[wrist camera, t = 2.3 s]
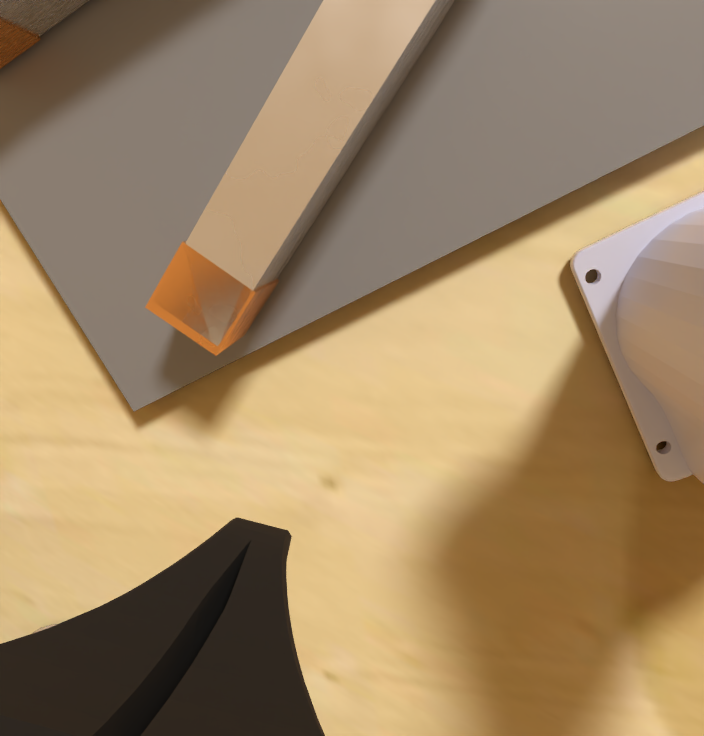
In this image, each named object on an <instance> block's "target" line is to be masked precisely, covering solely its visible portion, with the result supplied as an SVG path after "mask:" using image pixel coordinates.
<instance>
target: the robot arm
mask: <svg viewBox="0 0 704 736" xmlns="http://www.w3.org/2000/svg"><path fill="white" fill-rule="evenodd" d="M570 268H571V271H572V273H573V276H574V278H575V281H576V283H577V285H578V288H579V290H580V292H581V295H582V297H583V300H584V302H585V304H586V307H587V309H588V311H589V314H590V316H591V319H592V321H593V323H594V326H595V328H596V330H597V333H598V335H599V338H600V340H601V342H602V345H603V347H604V349H605V352H606V354H607V357H608V359H609V361H610V364H611V366H612V368H613V371H614V373H615V376H616V378H617V380H618V383H619V385H620V387H621V390H622V392H623V395H624V397H625V399H626V402H627V404H628V406H629V409H630V411H631V414H632V416H633V418H634V421H635V423H636V426H637V428H638V430H639V433H640V435H641V437H642V440H643V442H644V445H645V447H646V449H647V452H648V454H649V456H650V459H651V461H652V464H653V466H654V468H655V471H656V472H657V474H658V475H659V476H660V477H661V478H662V479H664V480H665V481H670V482H672V481H677V480H680V479H683V478H686V477H688V476H691V475H694V476H696V477H697V478H698V479H699V480H700V481H701V482H702V483H703V484H704V191H702V192H700V193H698V194H695V195H693V196H691V197H689V198H687V199H685V200H683V201H681V202H679V203H677V204H674V205H672V206H670V207H668V208H666V209H664V210H662V211H660V212H658V213H656V214H653V215H651V216H649V217H647V218H645V219H643V220H641V221H639V222H637V223H635V224H632V225H630V226H628V227H626V228H624V229H622V230H620V231H618V232H616V233H614V234H611V235H609V236H607V237H605V238H603V239H601V240H599V241H597V242H595V243H593V244H591V245H588V246H586V247H584V248H582V249H580V250H578V251H577V252H576V253H574V255H573V256H572V258H571V261H570ZM592 269H595V270H596V271H597V275H598V276H597V279H596V280H595V281H594V282H593V283H587V282H586V280H585V276H586V273H587V272H588V271H589V270H592ZM661 441H666V442H667V444H666V446H665V447H664V448H663V449H660V450H657V449H656V446H657V444H658V443H660V442H661ZM290 541H291V535H290V533H289V531H288V530H284V529H280V528H276V527H272V526H268V525H264V524H260V523H256V522H252V521H249V520H245V519H241V518H235V519H233V520H231V521H230V522H229V523H228V524H226V525H225V526H224V527H223V528H221V529H220V530H219V531H218V532H216V533H215V534H214V535H213V536H211V537H210V538H209V539H208V540H206V541H205V542H204V543H202V544H201V545H200V546H198V547H197V548H196V549H194V550H193V551H191V552H190V553H189V554H187V555H186V556H184V557H183V558H182V559H180V560H179V561H177V562H176V563H174V564H173V565H171V566H170V567H168V568H167V569H165V570H164V571H162V572H160V573H159V574H157V575H156V576H154V577H153V578H151V579H149V580H148V581H146V582H145V583H143V584H141V585H139V586H138V587H136V588H134V589H132V590H131V591H129V592H127V593H125V594H123V595H122V596H120V597H118V598H116V599H114V600H112V601H110V602H108V603H106V604H104V605H102V606H100V607H98V608H95V609H93V610H91V611H88V612H86V613H84V614H81V615H79V616H77V617H74V618H72V619H69V620H67V621H65V622H62V623H60V624H58V625H55V626H52V627H50V628H47V629H44V630H41V631H39V632H36V633H33V634H30V635H27V636H24V637H21V638H18V639H15V640H12V641H9V642H6V643H2V644H0V736H325V735H324V732H323V730H322V728H321V725H320V723H319V721H318V718H317V716H316V713H315V710H314V707H313V704H312V702H311V699H310V696H309V693H308V690H307V687H306V685H305V682H304V679H303V675H302V671H301V668H300V664H299V661H298V657H297V652H296V648H295V644H294V639H293V634H292V628H291V622H290V615H289V608H288V598H287V582H286V561H287V555H288V550H289V546H290Z"/></svg>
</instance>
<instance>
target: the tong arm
mask: <svg viewBox="0 0 704 736" xmlns="http://www.w3.org/2000/svg"><path fill="white" fill-rule="evenodd" d="M454 2H455V0H323V2H322V4H321V5H320V7H319V9H318V11H317V12H316V14H315V16H314V18H313V19H312V21H311V23H310V25H309V26H308V28H307V30H306V32H305V33H304V35H303V37H302V39H301V40H300V42H299V44H298V46H297V48H296V49H295V51H294V53H293V55H292V56H291V58H290V60H289V62H288V63H287V65H286V67H285V69H284V70H283V72H282V74H281V76H280V77H279V79H278V81H277V83H276V84H275V86H274V88H273V90H272V92H271V93H270V95H269V97H268V99H267V100H266V102H265V104H264V106H263V107H262V109H261V111H260V113H259V114H258V116H257V118H256V120H255V121H254V123H253V125H252V127H251V128H250V130H249V132H248V134H247V136H246V137H245V139H244V141H243V143H242V144H241V146H240V148H239V150H238V151H237V153H236V155H235V157H234V158H233V160H232V162H231V164H230V165H229V167H228V169H227V171H226V172H225V174H224V176H223V178H222V180H221V181H220V183H219V185H218V187H217V188H216V190H215V192H214V194H213V195H212V197H211V199H210V201H209V202H208V204H207V206H206V208H205V209H204V211H203V213H202V215H201V216H200V218H199V220H198V222H197V224H196V225H195V227H194V229H193V231H192V232H191V234H190V236H189V238H188V239H187V241H183V242H182V243H181V245H180V246H179V248H178V250H177V252H176V254H175V255H174V257H173V259H172V261H171V262H170V264H169V266H168V268H167V269H166V271H165V273H164V275H163V276H162V278H161V280H160V282H159V284H158V285H157V287H156V289H155V291H154V292H153V294H152V296H151V298H150V299H149V301H148V303H147V305H146V307H145V308H147V309H148V310H150V311H151V312H153V313H154V314H155V315H157V316H158V317H160V318H161V319H163V320H164V321H166V322H167V323H169V324H170V325H172V326H173V327H174V328H176V329H177V330H179V331H180V332H182V333H183V334H185V335H186V336H188V337H189V338H191V339H192V340H193V341H195V342H196V343H198V344H199V345H201V346H202V347H204V348H205V349H207V350H208V351H210V352H211V353H212V354H214V355H215V356H216V355H218V354H219V353H221V352H222V351H223V350H225V349H226V348H227V347H229V346H230V345H232V344H233V343H234V342H236V341H237V340H239V339H240V338H241V337H243V336H244V335H245V334H246V332H247V331H248V329H249V328H250V326H251V324H252V323H253V321H254V320H255V318H256V317H257V315H258V314H259V312H260V310H261V309H262V307H263V306H264V304H265V303H266V301H267V299H268V298H269V296H270V295H271V293H272V292H273V290H274V289H275V287H276V285H277V284H278V282H279V280H278V277H279V275H280V274H281V272H282V271H283V269H284V268H285V266H286V264H287V263H288V261H289V260H290V258H291V257H292V255H293V254H294V252H295V250H296V249H297V247H298V246H299V244H300V243H301V241H302V239H303V238H304V236H305V235H306V233H307V232H308V230H309V228H310V227H311V225H312V224H313V222H314V221H315V219H316V218H317V216H318V214H319V213H320V211H321V210H322V208H323V207H324V205H325V203H326V202H327V200H328V199H329V197H330V196H331V194H332V193H333V191H334V189H335V188H336V186H337V185H338V183H339V182H340V180H341V178H342V177H343V175H344V174H345V172H346V171H347V169H348V167H349V166H350V164H351V163H352V161H353V160H354V158H355V157H356V155H357V153H358V152H359V150H360V149H361V147H362V146H363V144H364V142H365V141H366V139H367V138H368V136H369V135H370V133H371V132H372V130H373V128H374V127H375V125H376V124H377V122H378V121H379V119H380V117H381V116H382V114H383V113H384V111H385V110H386V108H387V106H388V105H389V103H390V102H391V100H392V99H393V97H394V96H395V94H396V92H397V91H398V89H399V88H400V86H401V85H402V83H403V81H404V80H405V78H406V77H407V75H408V74H409V72H410V71H411V69H412V67H413V66H414V64H415V63H416V61H417V60H418V58H419V56H420V55H421V53H422V52H423V50H424V49H425V47H426V45H427V44H428V42H429V41H430V39H431V38H432V36H433V35H434V33H435V31H436V30H437V28H438V27H439V25H440V24H441V22H442V20H443V19H444V17H445V16H446V14H447V13H448V11H449V10H450V8H451V6H452V5H453V3H454Z"/></svg>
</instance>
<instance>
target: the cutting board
mask: <svg viewBox="0 0 704 736" xmlns="http://www.w3.org/2000/svg"><path fill="white" fill-rule="evenodd" d="M322 2H323V0H89V1H87V2H86V3H85V4H83V5H82V6H81V7H79V8H78V9H76V10H75V11H74V12H72V13H71V14H70V15H68V16H67V17H65V18H64V19H63V20H61V21H60V22H59V23H57V24H56V25H54V26H53V27H52V28H50V29H49V30H48V31H46V32H45V33H43V34H42V35H41V36H39V37H40V39H41V40H40V41H38V42H37V43H36V44H34V45H33V46H31V47H30V48H29V49H27V50H26V51H24V52H23V53H22V54H20V55H19V56H18V57H16V58H15V59H13V60H12V61H11V62H9V63H8V64H6V65H5V66H4V67H2V68H1V69H0V200H1V201H2V203H3V205H4V206H5V208H6V209H7V211H8V212H9V214H10V216H11V217H12V219H13V220H14V222H15V224H16V225H17V227H18V228H19V230H20V232H21V233H22V235H23V236H24V238H25V240H26V241H27V243H28V244H29V246H30V247H31V249H32V251H33V252H34V254H35V255H36V257H37V259H38V260H39V262H40V263H41V265H42V267H43V268H44V270H45V271H46V273H47V275H48V276H49V278H50V279H51V281H52V282H53V284H54V286H55V287H56V289H57V290H58V292H59V294H60V295H61V297H62V298H63V300H64V302H65V303H66V305H67V306H68V308H69V310H70V311H71V313H72V314H73V316H74V317H75V319H76V321H77V322H78V324H79V325H80V327H81V329H82V330H83V332H84V333H85V335H86V337H87V338H88V340H89V341H90V343H91V345H92V346H93V348H94V349H95V351H96V352H97V354H98V356H99V357H100V359H101V360H102V362H103V364H104V365H105V367H106V368H107V370H108V372H109V373H110V375H111V376H112V378H113V380H114V381H115V383H116V384H117V386H118V387H119V389H120V391H121V392H122V394H123V395H124V397H125V399H126V400H127V402H128V403H129V405H130V407H131V408H132V410H133V411H136V410H138V409H140V408H142V407H144V406H146V405H148V404H150V403H152V402H154V401H156V400H158V399H160V398H162V397H164V396H166V395H168V394H170V393H172V392H174V391H176V390H178V389H180V388H182V387H184V386H186V385H188V384H190V383H192V382H194V381H196V380H198V379H200V378H202V377H204V376H206V375H208V374H210V373H212V372H214V371H216V370H218V369H220V368H222V367H224V366H226V365H228V364H230V363H232V362H234V361H236V360H238V359H240V358H242V357H244V356H246V355H248V354H250V353H252V352H254V351H256V350H258V349H260V348H262V347H264V346H266V345H268V344H269V343H271V342H273V341H275V340H277V339H279V338H281V337H283V336H285V335H287V334H289V333H291V332H293V331H295V330H297V329H299V328H301V327H303V326H305V325H307V324H309V323H311V322H313V321H315V320H317V319H319V318H321V317H323V316H325V315H327V314H329V313H331V312H333V311H335V310H337V309H339V308H341V307H343V306H345V305H347V304H349V303H351V302H353V301H355V300H357V299H359V298H361V297H363V296H365V295H367V294H369V293H371V292H373V291H375V290H377V289H379V288H381V287H383V286H385V285H387V284H389V283H391V282H393V281H395V280H397V279H399V278H401V277H403V276H405V275H407V274H409V273H411V272H413V271H415V270H417V269H419V268H421V267H423V266H425V265H427V264H429V263H431V262H433V261H435V260H437V259H439V258H441V257H443V256H445V255H447V254H449V253H451V252H453V251H455V250H457V249H459V248H461V247H463V246H465V245H467V244H469V243H471V242H473V241H475V240H477V239H479V238H481V237H483V236H485V235H487V234H489V233H491V232H493V231H495V230H497V229H499V228H501V227H503V226H505V225H507V224H509V223H511V222H513V221H515V220H517V219H518V218H520V217H522V216H524V215H526V214H528V213H530V212H532V211H534V210H536V209H538V208H540V207H542V206H544V205H546V204H548V203H550V202H552V201H554V200H556V199H558V198H560V197H562V196H564V195H566V194H568V193H570V192H572V191H574V190H576V189H578V188H580V187H582V186H584V185H586V184H588V183H590V182H592V181H594V180H596V179H598V178H600V177H602V176H604V175H606V174H608V173H610V172H612V171H614V170H616V169H618V168H620V167H622V166H624V165H626V164H628V163H630V162H632V161H634V160H636V159H638V158H640V157H642V156H644V155H646V154H648V153H650V152H652V151H654V150H656V149H658V148H660V147H662V146H664V145H666V144H668V143H670V142H672V141H674V140H676V139H678V138H680V137H682V136H684V135H686V134H688V133H690V132H692V131H694V130H696V129H698V128H700V127H702V126H704V0H455V2H454V3H453V5H452V6H451V8H450V10H449V11H448V13H447V14H446V16H445V17H444V19H443V20H442V22H441V24H440V25H439V27H438V28H437V30H436V31H435V33H434V35H433V36H432V38H431V39H430V41H429V42H428V44H427V45H426V47H425V49H424V50H423V52H422V53H421V55H420V56H419V58H418V60H417V61H416V63H415V64H414V66H413V67H412V69H411V71H410V72H409V74H408V75H407V77H406V78H405V80H404V81H403V83H402V85H401V86H400V88H399V89H398V91H397V92H396V94H395V96H394V97H393V99H392V100H391V102H390V103H389V105H388V106H387V108H386V110H385V111H384V113H383V114H382V116H381V117H380V119H379V121H378V122H377V124H376V125H375V127H374V128H373V130H372V132H371V133H370V135H369V136H368V138H367V139H366V141H365V142H364V144H363V146H362V147H361V149H360V150H359V152H358V153H357V155H356V157H355V158H354V160H353V161H352V163H351V164H350V166H349V167H348V169H347V171H346V172H345V174H344V175H343V177H342V178H341V180H340V182H339V183H338V185H337V186H336V188H335V189H334V191H333V193H332V194H331V196H330V197H329V199H328V200H327V202H326V203H325V205H324V207H323V208H322V210H321V211H320V213H319V214H318V216H317V218H316V219H315V221H314V222H313V224H312V225H311V227H310V228H309V230H308V232H307V233H306V235H305V236H304V238H303V239H302V241H301V243H300V244H299V246H298V247H297V249H296V250H295V252H294V254H293V255H292V257H291V258H290V260H289V261H288V263H287V264H286V266H285V268H284V269H283V271H282V272H281V274H280V275H279V277H278V280H279V282H278V284H277V285H276V287H275V289H274V290H273V292H272V293H271V295H270V296H269V298H268V299H267V301H266V303H265V304H264V306H263V307H262V309H261V310H260V312H259V314H258V315H257V317H256V318H255V320H254V321H253V323H252V324H251V326H250V328H249V329H248V331H247V332H246V334H245V335H244V336H243V337H241V338H240V339H239V340H237V341H236V342H234V343H233V344H232V345H230V346H229V347H227V348H226V349H225V350H223V351H222V352H221V353H219V354H218V355H216V356H215V355H214V354H212V353H211V352H210V351H208V350H207V349H205V348H204V347H202V346H201V345H199V344H198V343H196V342H195V341H193V340H192V339H191V338H189V337H188V336H186V335H185V334H183V333H182V332H180V331H179V330H177V329H176V328H174V327H173V326H172V325H170V324H169V323H167V322H166V321H164V320H163V319H161V318H160V317H158V316H157V315H155V314H154V313H153V312H151V311H150V310H148V309H147V308H145V307H146V305H147V303H148V301H149V299H150V298H151V296H152V294H153V292H154V291H155V289H156V287H157V285H158V284H159V282H160V280H161V278H162V276H163V275H164V273H165V271H166V269H167V268H168V266H169V264H170V262H171V261H172V259H173V257H174V255H175V254H176V252H177V250H178V248H179V246H180V245H181V243H182V242H183V241H187V239H188V238H189V236H190V234H191V232H192V231H193V229H194V227H195V225H196V224H197V222H198V220H199V218H200V216H201V215H202V213H203V211H204V209H205V208H206V206H207V204H208V202H209V201H210V199H211V197H212V195H213V194H214V192H215V190H216V188H217V187H218V185H219V183H220V181H221V180H222V178H223V176H224V174H225V172H226V171H227V169H228V167H229V165H230V164H231V162H232V160H233V158H234V157H235V155H236V153H237V151H238V150H239V148H240V146H241V144H242V143H243V141H244V139H245V137H246V136H247V134H248V132H249V130H250V128H251V127H252V125H253V123H254V121H255V120H256V118H257V116H258V114H259V113H260V111H261V109H262V107H263V106H264V104H265V102H266V100H267V99H268V97H269V95H270V93H271V92H272V90H273V88H274V86H275V84H276V83H277V81H278V79H279V77H280V76H281V74H282V72H283V70H284V69H285V67H286V65H287V63H288V62H289V60H290V58H291V56H292V55H293V53H294V51H295V49H296V48H297V46H298V44H299V42H300V40H301V39H302V37H303V35H304V33H305V32H306V30H307V28H308V26H309V25H310V23H311V21H312V19H313V18H314V16H315V14H316V12H317V11H318V9H319V7H320V5H321V4H322Z"/></svg>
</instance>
